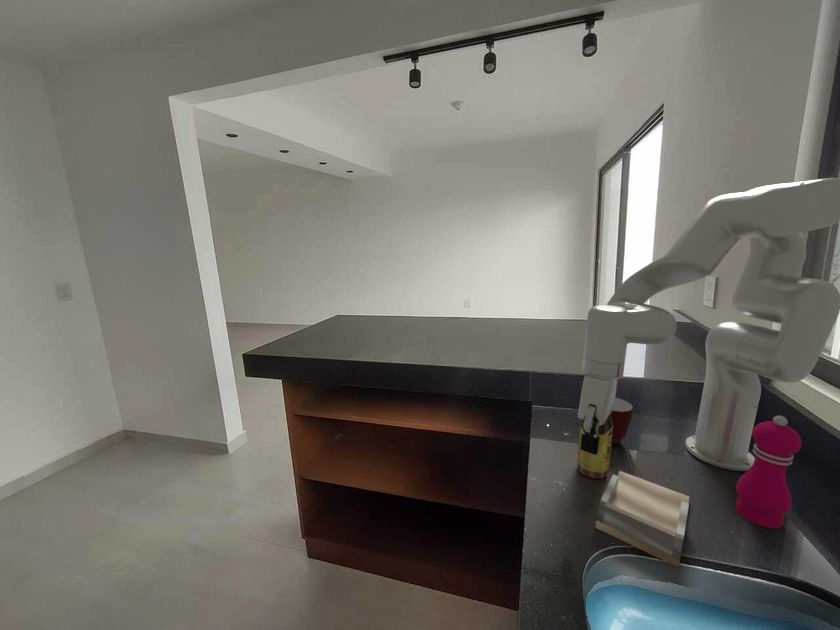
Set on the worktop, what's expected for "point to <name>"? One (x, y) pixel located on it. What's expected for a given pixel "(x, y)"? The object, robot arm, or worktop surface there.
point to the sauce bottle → (597, 463)
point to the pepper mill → (768, 474)
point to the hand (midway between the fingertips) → (594, 442)
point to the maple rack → (644, 516)
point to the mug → (620, 419)
